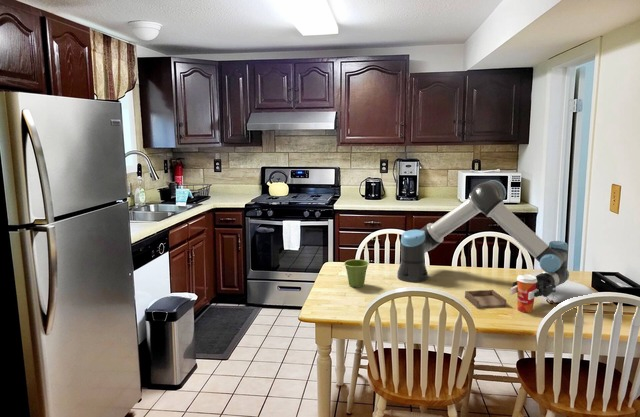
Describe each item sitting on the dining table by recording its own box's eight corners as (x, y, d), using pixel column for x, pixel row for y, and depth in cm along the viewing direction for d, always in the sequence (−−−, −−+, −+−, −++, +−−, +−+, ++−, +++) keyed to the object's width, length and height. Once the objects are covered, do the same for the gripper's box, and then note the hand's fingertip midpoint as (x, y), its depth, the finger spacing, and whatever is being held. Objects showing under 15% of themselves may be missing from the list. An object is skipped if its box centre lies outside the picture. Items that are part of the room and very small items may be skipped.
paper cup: (511, 306, 191) (513, 274, 189) (528, 305, 192) (531, 273, 189) (521, 313, 184) (523, 280, 181) (539, 313, 184) (541, 279, 182)
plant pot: (339, 285, 221) (339, 263, 219) (354, 279, 230) (354, 258, 228) (358, 291, 213) (358, 268, 211) (373, 284, 222) (373, 262, 220)
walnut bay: (476, 308, 191) (477, 301, 190) (464, 297, 203) (465, 291, 203) (506, 306, 192) (506, 300, 191) (492, 296, 204) (492, 289, 204)
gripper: (569, 295, 191) (544, 309, 176) (523, 283, 206) (496, 296, 191) (570, 278, 190) (545, 291, 175) (524, 267, 204) (497, 279, 190)
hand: (520, 293), depth 183 cm, fingers closed on paper cup, 7 cm apart
